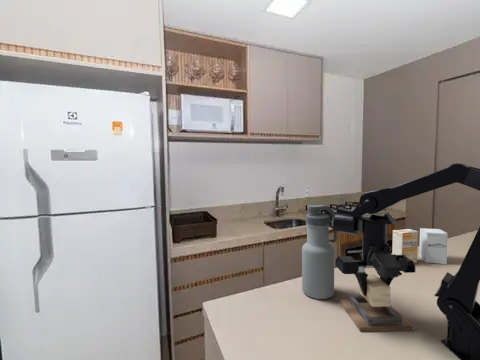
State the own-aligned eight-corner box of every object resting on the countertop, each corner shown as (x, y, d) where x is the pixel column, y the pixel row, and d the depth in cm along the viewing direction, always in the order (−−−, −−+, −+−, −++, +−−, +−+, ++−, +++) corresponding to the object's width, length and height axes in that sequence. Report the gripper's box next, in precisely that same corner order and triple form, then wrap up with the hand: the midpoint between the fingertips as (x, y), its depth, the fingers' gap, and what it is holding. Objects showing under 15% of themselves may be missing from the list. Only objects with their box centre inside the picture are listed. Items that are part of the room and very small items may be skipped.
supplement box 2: (425, 263, 104) (426, 232, 103) (418, 256, 111) (419, 227, 111) (447, 264, 102) (448, 233, 101) (439, 258, 109) (439, 228, 108)
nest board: (413, 330, 64) (413, 320, 63) (360, 331, 64) (360, 321, 64) (384, 302, 77) (384, 293, 76) (339, 302, 77) (339, 294, 76)
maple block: (359, 292, 74) (359, 274, 73) (375, 291, 73) (375, 274, 73) (372, 306, 66) (372, 287, 66) (390, 306, 66) (390, 287, 66)
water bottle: (321, 282, 90) (320, 202, 88) (342, 295, 81) (342, 206, 79) (296, 288, 86) (295, 204, 84) (315, 303, 77) (315, 209, 75)
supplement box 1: (401, 265, 102) (402, 232, 102) (391, 261, 107) (392, 229, 106) (418, 263, 105) (418, 231, 104) (407, 258, 109) (408, 228, 108)
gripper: (351, 248, 61) (351, 313, 62) (432, 246, 61) (430, 311, 62) (334, 235, 72) (334, 290, 73) (402, 233, 72) (401, 288, 73)
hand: (373, 295), depth 70 cm, fingers closed on maple block, 4 cm apart
